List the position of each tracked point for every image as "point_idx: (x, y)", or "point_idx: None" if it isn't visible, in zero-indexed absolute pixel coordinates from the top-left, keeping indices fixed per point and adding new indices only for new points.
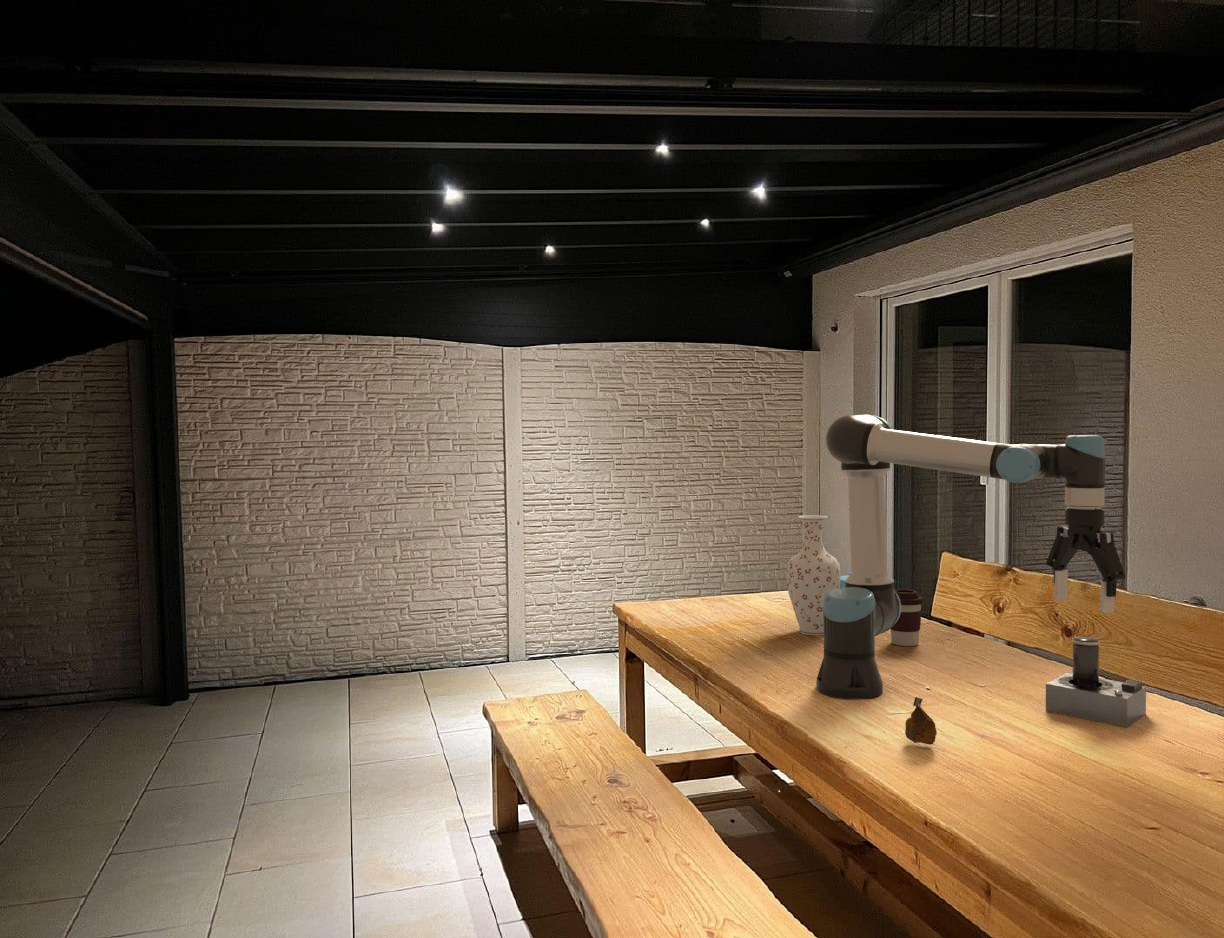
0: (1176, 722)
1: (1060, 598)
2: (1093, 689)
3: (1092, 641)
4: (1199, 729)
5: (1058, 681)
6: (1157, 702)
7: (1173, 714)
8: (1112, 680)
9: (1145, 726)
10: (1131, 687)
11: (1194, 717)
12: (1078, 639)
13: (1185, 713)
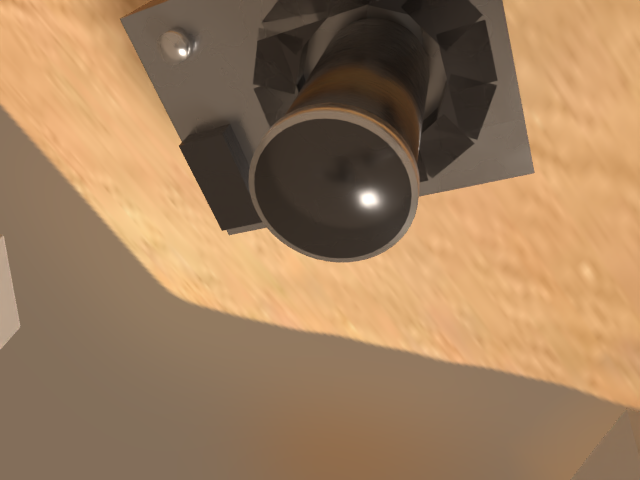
0: (167, 181)
1: (606, 449)
2: (279, 18)
3: (271, 177)
4: (99, 173)
5: None
6: (326, 307)
7: (227, 241)
8: None
9: None
10: (191, 140)
11: (186, 259)
12: (355, 156)
13: (221, 273)
